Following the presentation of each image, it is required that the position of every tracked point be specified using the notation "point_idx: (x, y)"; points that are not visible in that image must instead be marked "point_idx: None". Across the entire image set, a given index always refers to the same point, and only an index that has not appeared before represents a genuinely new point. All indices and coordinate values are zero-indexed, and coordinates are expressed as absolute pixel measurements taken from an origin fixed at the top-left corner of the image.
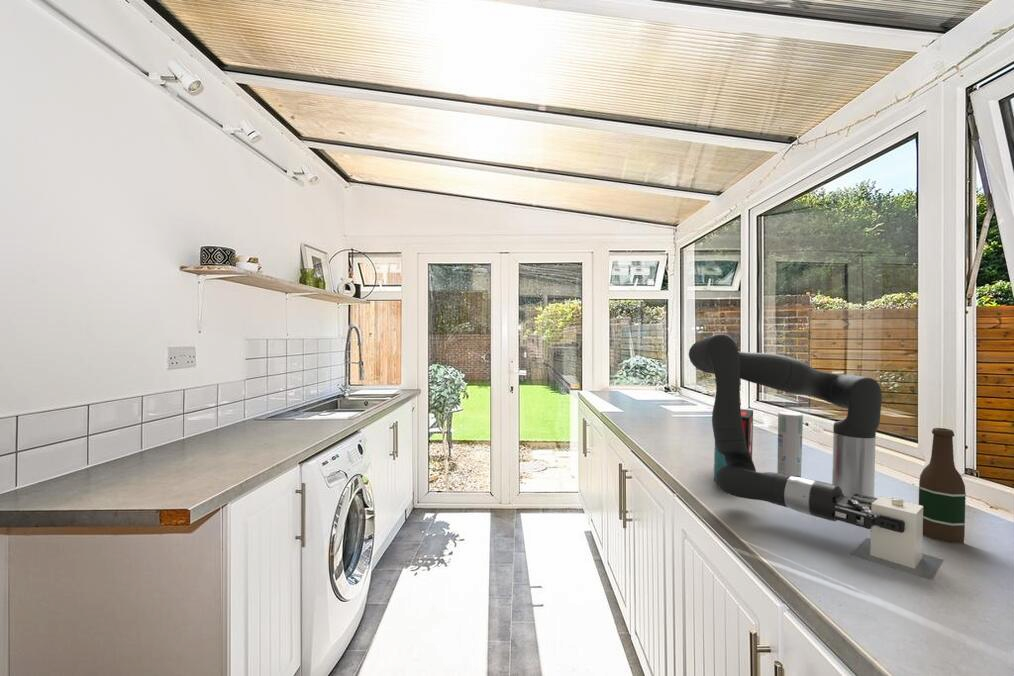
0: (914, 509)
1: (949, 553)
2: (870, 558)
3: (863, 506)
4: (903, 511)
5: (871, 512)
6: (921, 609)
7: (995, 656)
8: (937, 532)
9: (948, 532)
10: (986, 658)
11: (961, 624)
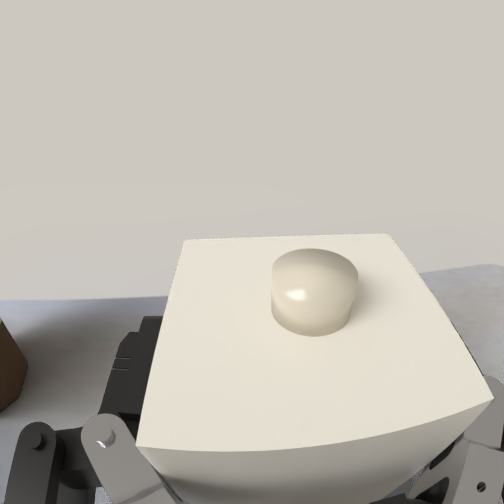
0: (312, 246)
1: (78, 370)
2: (394, 494)
3: (488, 469)
4: (410, 265)
5: (486, 414)
6: (490, 335)
7: (487, 268)
8: (7, 366)
9: (10, 342)
10: (500, 271)
11: (467, 298)
